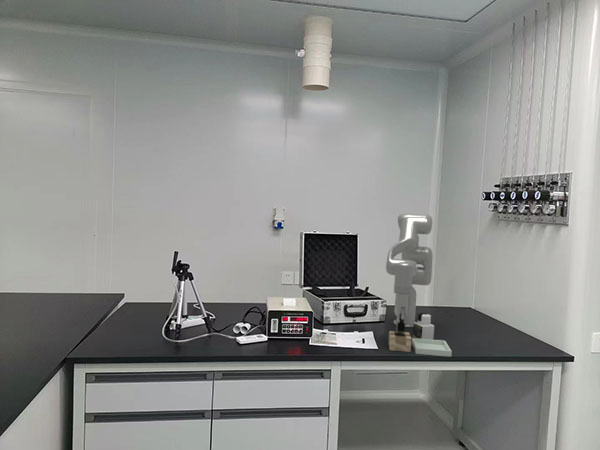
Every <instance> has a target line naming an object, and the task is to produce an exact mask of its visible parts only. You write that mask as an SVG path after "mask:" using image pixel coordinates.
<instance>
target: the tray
mask: <svg viewBox="0 0 600 450" xmlns="http://www.w3.org/2000/svg"><path fill="white" fill-rule="evenodd" d="M411 346H412V347H413V350H414V353H415V355H425V356H427V355H429V356H436V357H437V356H439V357H451V358H452V355H453V354H452V352H453V351H452V349H451V348H450V346H449V345H448V343H447V341H446V340H443V339H433V340H430V339H418V338H415V337H411Z"/></svg>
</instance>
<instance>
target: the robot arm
mask: <svg viewBox="0 0 600 450" xmlns="http://www.w3.org/2000/svg"><path fill="white" fill-rule="evenodd" d="M397 224H398V228H399V236H398V241H397V242H396V243H394V244H393V245H392V246H391V248H390V249H389V251H388V252H387V258H386V264H385V269H386V270H385V271H386V273H387V274H388V275H391V276H394V284H393V285H394V286H393V293H394V294H395V300H394V309H393V310H394V311H393V312H394V314H395V316H396V317H397V315H398V324H397V319H394V320H393V324H394V325H396V332H397V331H399V332H406V331H405V330H406V329H405V328H413V326H414V322H416V308H417V291H416V289H415V288H414V286H413V285H415V286H417V285H418V286H428V285H431V283H432V275H433V274H432V273H433V251H432V248H430V247H428V246H419V241H420V238H419V237H420V236H419V235H429V234H430V233H431V232H432V229H433V218H432V216H431V215H429V214H415V213H403V214H401V213H400V214H399V216H398V217H397ZM399 254H401V259H399V258H395V257H396V256H397V255H399ZM418 265H421V266H418ZM400 314H401V316H400ZM400 317H401V318H400Z"/></svg>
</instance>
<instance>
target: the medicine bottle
mask: <svg viewBox="0 0 600 450" xmlns="http://www.w3.org/2000/svg"><path fill="white" fill-rule="evenodd" d="M431 319H432V315H431V314H429V313H426V312H420V313H418V314H417V321H415V322H414V326H413V327H412V331H413V332H412V338H418V339H430V340H435V338H434V336H435V335H434V334H435V325H434V324H432V323H431V322H432V321H431Z"/></svg>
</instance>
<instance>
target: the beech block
mask: <svg viewBox="0 0 600 450" xmlns="http://www.w3.org/2000/svg"><path fill="white" fill-rule="evenodd" d="M396 332H397V330H396V331H394V330H389V332H388V347H389V348H388V349H389V351H398V352H406V353H407V352H408V353H411V352H412V351H411V350H412V336H411V334H410V332H407V331H404V336H396Z"/></svg>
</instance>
